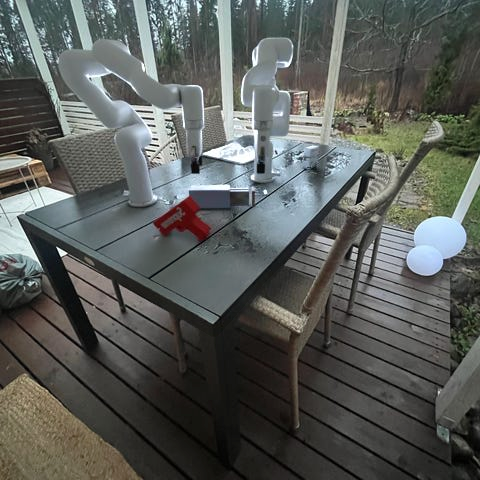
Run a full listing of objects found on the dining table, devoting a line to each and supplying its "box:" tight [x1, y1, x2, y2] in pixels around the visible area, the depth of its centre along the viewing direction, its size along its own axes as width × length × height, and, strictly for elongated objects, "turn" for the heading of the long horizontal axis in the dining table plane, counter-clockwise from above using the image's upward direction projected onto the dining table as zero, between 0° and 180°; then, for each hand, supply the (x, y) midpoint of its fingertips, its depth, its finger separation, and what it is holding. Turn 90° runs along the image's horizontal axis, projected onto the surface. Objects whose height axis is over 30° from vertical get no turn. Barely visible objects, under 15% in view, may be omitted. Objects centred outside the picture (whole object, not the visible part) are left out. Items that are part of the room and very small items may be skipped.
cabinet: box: [188, 184, 231, 211], centre depth 116 cm, size 17×6×9 cm, turn 91°
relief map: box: [201, 141, 254, 165], centre depth 184 cm, size 27×35×5 cm
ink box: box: [301, 144, 320, 170], centre depth 160 cm, size 8×5×12 cm, turn 134°
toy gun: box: [152, 195, 212, 243], centre depth 96 cm, size 18×4×15 cm
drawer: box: [230, 186, 269, 208], centre depth 116 cm, size 21×5×7 cm, turn 91°
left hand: (197, 169), depth 109 cm, fingers open, 9 cm apart
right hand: (260, 172), depth 110 cm, fingers closed
